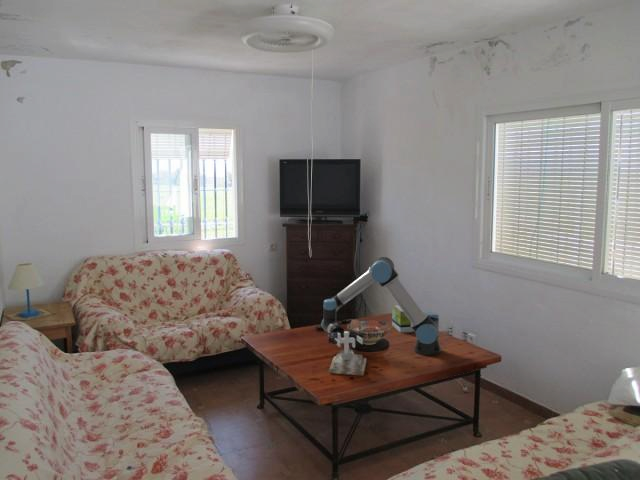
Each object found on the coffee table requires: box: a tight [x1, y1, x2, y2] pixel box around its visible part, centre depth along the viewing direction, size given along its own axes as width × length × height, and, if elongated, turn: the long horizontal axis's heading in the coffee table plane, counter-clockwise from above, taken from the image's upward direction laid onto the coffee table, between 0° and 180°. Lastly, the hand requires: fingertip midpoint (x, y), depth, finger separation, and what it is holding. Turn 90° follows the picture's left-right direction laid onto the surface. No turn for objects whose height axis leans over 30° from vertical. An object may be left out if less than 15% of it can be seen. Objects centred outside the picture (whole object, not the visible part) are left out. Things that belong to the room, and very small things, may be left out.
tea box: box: [391, 304, 414, 334], centre depth 344 cm, size 15×10×15 cm, turn 14°
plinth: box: [328, 353, 367, 376], centre depth 279 cm, size 18×18×5 cm
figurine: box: [338, 330, 356, 360], centre depth 277 cm, size 7×9×15 cm
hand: (351, 343), depth 274 cm, fingers open, 12 cm apart
